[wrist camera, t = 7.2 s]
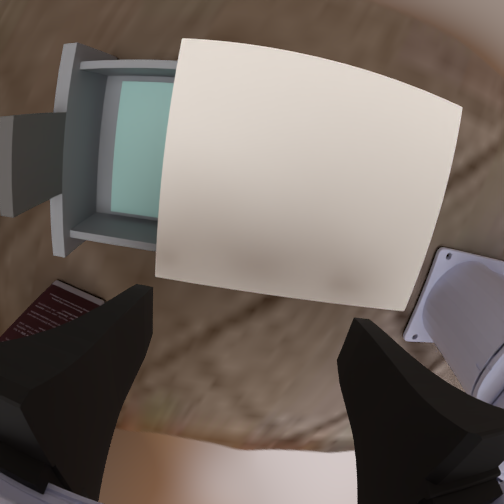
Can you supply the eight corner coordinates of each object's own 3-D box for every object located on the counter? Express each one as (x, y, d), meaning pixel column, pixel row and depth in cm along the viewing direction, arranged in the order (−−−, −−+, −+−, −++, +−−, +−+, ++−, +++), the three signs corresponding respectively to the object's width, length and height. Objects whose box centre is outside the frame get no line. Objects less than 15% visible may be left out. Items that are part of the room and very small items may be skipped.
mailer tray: (324, 79, 16) (381, 47, 8) (288, 256, 20) (309, 348, 12) (105, 57, 15) (13, 30, 7) (91, 225, 20) (11, 290, 11)
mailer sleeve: (413, 107, 17) (462, 107, 12) (373, 267, 21) (404, 311, 16) (202, 60, 16) (182, 38, 11) (179, 237, 20) (155, 276, 15)
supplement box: (54, 276, 22) (-74, 420, 7) (107, 299, 22) (-3, 476, 8) (53, 352, 25) (-27, 484, 10) (98, 373, 25) (31, 520, 11)
